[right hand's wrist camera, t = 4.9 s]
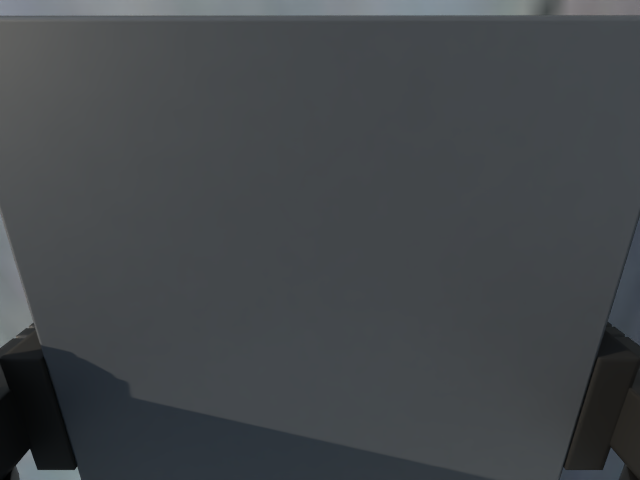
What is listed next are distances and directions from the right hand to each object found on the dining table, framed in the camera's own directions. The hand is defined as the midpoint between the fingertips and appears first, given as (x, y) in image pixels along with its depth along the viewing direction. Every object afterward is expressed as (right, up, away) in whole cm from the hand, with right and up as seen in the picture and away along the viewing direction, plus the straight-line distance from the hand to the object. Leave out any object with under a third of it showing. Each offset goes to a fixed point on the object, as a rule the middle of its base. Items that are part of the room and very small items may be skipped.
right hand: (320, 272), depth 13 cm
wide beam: (0, -24, +9) cm, 26 cm away
